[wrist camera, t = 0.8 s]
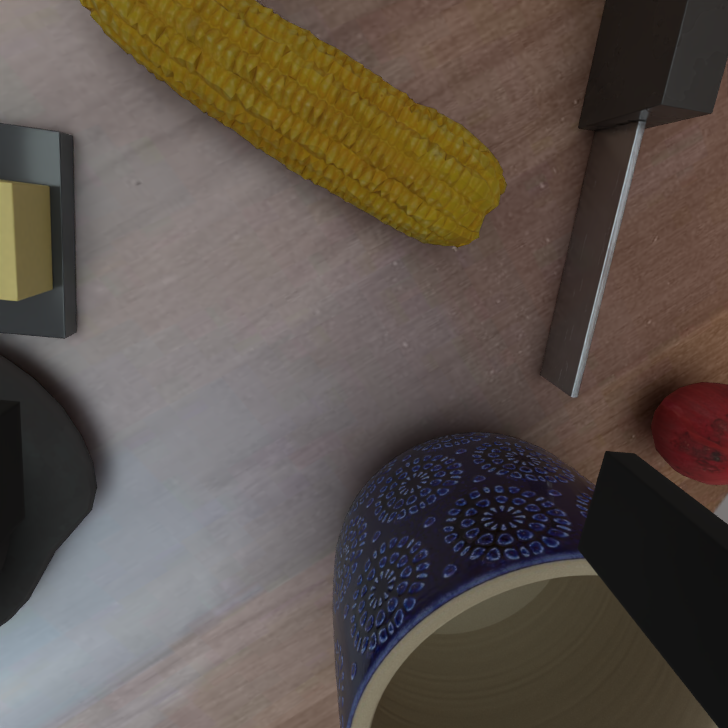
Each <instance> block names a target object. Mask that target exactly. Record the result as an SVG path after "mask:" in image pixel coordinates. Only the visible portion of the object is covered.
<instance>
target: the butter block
mask: <svg viewBox="0 0 728 728" xmlns="http://www.w3.org/2000/svg"><path fill="white" fill-rule="evenodd" d="M52 289H53V279H52V248H51V217H50V187H49V186H47V185H39V184H31V183H23V182H15V181H8V180H0V300H9V301H19V300H22V299H25V298H28V297H32V296H35V295H38V294H41V293H44V292H47V291H50V290H52Z"/></svg>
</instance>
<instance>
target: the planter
mask: <svg viewBox="0 0 728 728" xmlns="http://www.w3.org/2000/svg"><path fill="white" fill-rule="evenodd" d="M594 489H595V485H594V484H593V483H591V482H590V481H589V480H588V479H586V478H585V477H584V476H582V475H581V474H580V473H578V472H577V471H576V470H575V469H573V468H572V467H570V466H569V465H568V464H566V463H565V462H563V461H562V460H560V459H559V458H557V457H556V456H555V455H553V454H551V453H550V452H548V451H546V450H544V449H542V448H540V447H538V446H536V445H533V444H531V443H528V442H526V441H523V440H521V439H518V438H515V437H511V436H507V435H502V434H496V433H485V432H471V433H460V434H453V435H448V436H443V437H439V438H436V439H432V440H429V441H426V442H424V443H421V444H419V445H417V446H415V447H413V448H411V449H409V450H407V451H405V452H403V453H402V454H400V455H399V456H397V457H396V458H394V459H393V460H391V461H390V462H389V463H388V464H386V465H385V466H384V467H383V468H382V469H380V470H379V471H378V472H377V473H376V474H375V475H374V476H373V477H372V478H371V479H370V480H369V481H368V483H367V484H366V485H365V486H364V487H363V489H362V490H361V491H360V493H359V494H358V496H357V497H356V499H355V500H354V502H353V504H352V505H351V507H350V509H349V511H348V513H347V516H346V518H345V521H344V524H343V526H342V530H341V533H340V536H339V540H338V544H337V548H336V554H335V565H334V579H333V628H334V652H335V670H336V682H337V694H338V706H339V717H340V728H718V727H717V725H716V724H715V723H714V721H713V720H712V719H711V718H710V716H709V715H708V714H707V713H706V711H705V710H704V709H703V707H702V706H701V705H700V704H699V702H698V701H697V700H696V699H695V697H694V696H693V695H692V694H691V692H690V691H689V690H688V688H687V687H686V686H685V685H684V683H683V682H682V681H681V680H680V678H679V677H678V676H677V675H676V673H675V672H674V671H673V669H672V668H671V667H670V666H669V664H668V663H667V662H666V661H665V659H664V658H663V657H662V656H661V654H660V653H659V652H658V650H657V649H656V648H655V647H654V645H653V644H652V643H651V642H650V640H649V639H648V638H647V636H646V635H645V634H644V633H643V631H642V630H641V629H640V628H639V626H638V625H637V624H636V623H635V621H634V620H633V619H632V617H631V616H630V615H629V614H628V612H627V611H626V610H625V609H624V607H623V606H622V605H621V604H620V602H619V601H618V600H617V598H616V597H615V596H614V595H613V593H612V592H611V591H610V590H609V588H608V587H607V586H606V585H605V583H604V582H603V581H602V579H601V578H600V577H599V576H598V574H597V573H596V572H595V571H594V569H593V568H592V567H591V565H590V564H589V563H588V562H587V560H586V559H585V558H584V557H583V555H582V554H581V553H580V552H579V550H578V549H577V548H578V544H579V541H580V538H581V534H582V531H583V527H584V524H585V520H586V517H587V514H588V510H589V507H590V503H591V500H592V496H593V493H594Z"/></svg>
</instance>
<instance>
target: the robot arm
mask: <svg viewBox="0 0 728 728" xmlns="http://www.w3.org/2000/svg"><path fill="white" fill-rule="evenodd" d="M24 519H25V502H24V480H23V457H22V434H21V411H20V401H8V400H0V546H1V545H2V544H3V543H4V542H5V540H6V539H7V538H8V537H9V536H10V535H11V534H12V532H13V531H14V530H15V529H16V528H17V527H18V526H19V525H20V523H21V522H22V521H23V520H24ZM577 549H578V550H579V552H580V553H581V554H582V555H583V557H584V558H585V559H586V560H587V562H588V563H589V564H590V565H591V567H592V568H593V569H594V571H595V572H596V573H597V574H598V576H599V577H600V578H601V579H602V581H603V582H604V583H605V585H606V586H607V587H608V588H609V590H610V591H611V592H612V593H613V595H614V596H615V597H616V598H617V600H618V601H619V602H620V604H621V605H622V606H623V607H624V609H625V610H626V611H627V612H628V614H629V615H630V616H631V617H632V619H633V620H634V621H635V623H636V624H637V625H638V626H639V628H640V629H641V630H642V631H643V633H644V634H645V635H646V636H647V638H648V639H649V640H650V642H651V643H652V644H653V645H654V647H655V648H656V649H657V650H658V652H659V653H660V654H661V656H662V657H663V658H664V659H665V661H666V662H667V663H668V664H669V666H670V667H671V668H672V669H673V671H674V672H675V673H676V675H677V676H678V677H679V678H680V680H681V681H682V682H683V683H684V685H685V686H686V687H687V688H688V690H689V691H690V692H691V694H692V695H693V696H694V697H695V699H696V700H697V701H698V702H699V704H700V705H701V706H702V707H703V709H704V710H705V711H706V713H707V714H708V715H709V716H710V718H711V719H712V720H713V721H714V723H715V724H716V725H717V727H718V728H728V524H727V523H725V522H724V521H723V520H721V519H720V518H719V517H717V516H716V515H715V514H713V513H712V512H711V511H710V510H708V509H707V508H706V507H704V506H703V505H702V504H700V503H699V502H698V501H696V500H695V499H694V498H692V497H691V496H690V495H688V494H687V493H686V492H685V491H683V490H682V489H681V488H679V487H678V486H677V485H675V484H674V483H673V482H671V481H670V480H669V479H667V478H666V477H665V476H664V475H662V474H661V473H660V472H658V471H657V470H656V469H654V468H653V467H652V466H650V465H649V464H648V463H646V462H645V461H644V460H642V459H641V458H640V457H639V456H637V455H636V454H635V453H623V452H611V451H606V452H605V455H604V459H603V462H602V465H601V469H600V472H599V476H598V479H597V483H596V486H595V489H594V493H593V496H592V500H591V503H590V507H589V510H588V514H587V517H586V520H585V524H584V527H583V531H582V534H581V538H580V541H579V544H578V548H577Z"/></svg>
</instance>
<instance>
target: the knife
mask: <svg viewBox="0 0 728 728" xmlns="http://www.w3.org/2000/svg"><path fill="white" fill-rule="evenodd" d="M727 58H728V0H606V3H605V7H604V12H603V16H602V21H601V26H600V30H599V35H598V39H597V44H596V49H595V53H594V58H593V62H592V67H591V72H590V76H589V81H588V85H587V90H586V94H585V99H584V104H583V108H582V113H581V117H580V122H579V127H578V128H580V129H586V130H592V131H595V134H594V138H593V143H592V147H591V152H590V156H589V160H588V165H587V169H586V174H585V178H584V182H583V187H582V191H581V196H580V200H579V205H578V209H577V213H576V218H575V222H574V227H573V231H572V235H571V240H570V244H569V249H568V253H567V258H566V262H565V266H564V271H563V275H562V280H561V284H560V288H559V293H558V297H557V302H556V306H555V311H554V315H553V319H552V324H551V328H550V333H549V337H548V341H547V346H546V350H545V355H544V359H543V364H542V368H541V372H540V375H541V376H542V377H543V378H545V379H546V380H548V381H549V382H551V383H552V384H553V385H555V386H556V387H558V388H559V389H560V390H562V391H563V392H565V393H566V394H568V395H569V396H570V397H575V398H577V397H578V393H579V389H580V385H581V381H582V377H583V373H584V369H585V365H586V361H587V357H588V353H589V349H590V345H591V341H592V337H593V333H594V329H595V325H596V321H597V317H598V313H599V309H600V305H601V301H602V297H603V293H604V289H605V285H606V281H607V277H608V273H609V269H610V265H611V261H612V257H613V253H614V249H615V245H616V241H617V237H618V233H619V229H620V225H621V221H622V217H623V213H624V209H625V205H626V201H627V197H628V193H629V189H630V185H631V181H632V177H633V173H634V169H635V165H636V161H637V157H638V153H639V149H640V145H641V141H642V137H643V133H644V129H646V128H650V127H655V126H659V125H663V124H668V123H672V122H676V121H681V120H685V119H690V118H694V117H698V116H703V115H707V114H711V113H712V112H713V108H714V104H715V101H716V97H717V94H718V90H719V87H720V83H721V79H722V76H723V72H724V69H725V65H726V62H727Z"/></svg>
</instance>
